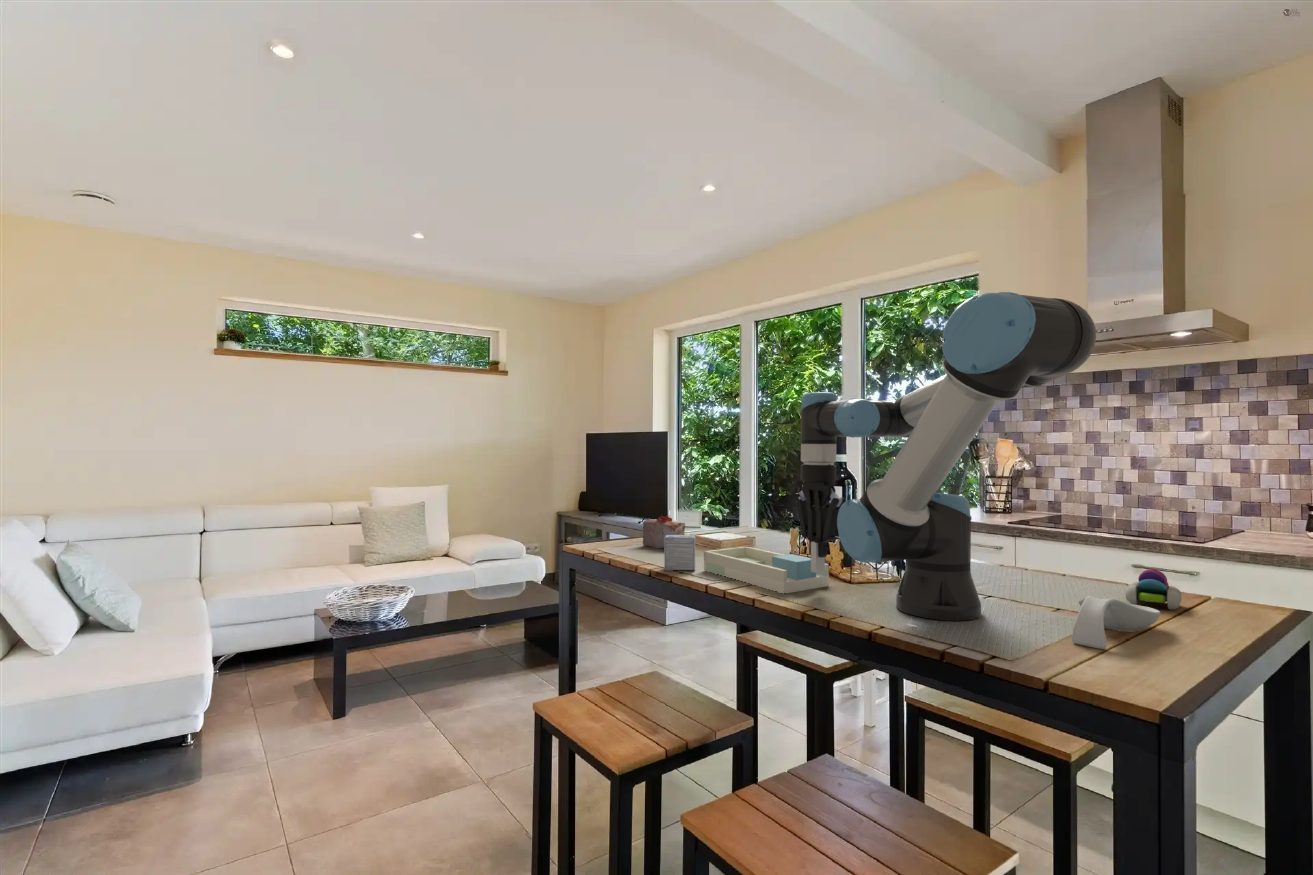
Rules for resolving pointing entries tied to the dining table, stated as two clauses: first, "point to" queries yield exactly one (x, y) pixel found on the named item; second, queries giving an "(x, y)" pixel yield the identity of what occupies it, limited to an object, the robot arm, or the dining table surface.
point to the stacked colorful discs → (1153, 590)
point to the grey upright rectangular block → (679, 552)
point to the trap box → (759, 569)
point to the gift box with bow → (660, 531)
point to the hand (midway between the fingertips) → (817, 571)
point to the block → (794, 566)
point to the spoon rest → (1108, 620)
